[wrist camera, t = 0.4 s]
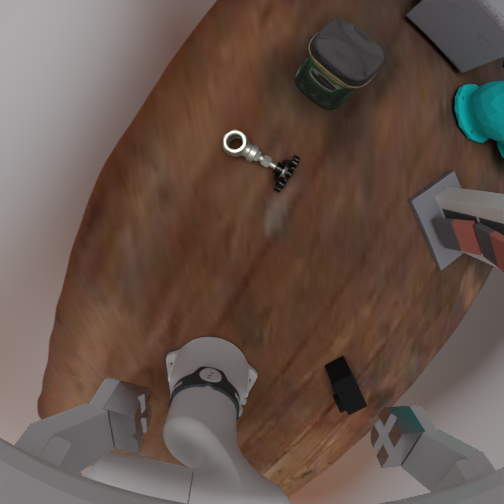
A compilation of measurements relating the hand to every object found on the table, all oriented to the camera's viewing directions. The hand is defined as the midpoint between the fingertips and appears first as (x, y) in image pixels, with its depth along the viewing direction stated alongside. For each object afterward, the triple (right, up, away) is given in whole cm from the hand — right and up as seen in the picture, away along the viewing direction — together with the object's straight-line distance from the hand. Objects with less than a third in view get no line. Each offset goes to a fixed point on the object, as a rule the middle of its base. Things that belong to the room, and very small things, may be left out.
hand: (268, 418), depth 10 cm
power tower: (+38, +12, +45) cm, 60 cm away
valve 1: (0, +21, +43) cm, 48 cm away
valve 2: (+54, +31, +41) cm, 74 cm away
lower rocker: (+35, +9, +42) cm, 55 cm away
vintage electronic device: (+45, +59, +34) cm, 82 cm away
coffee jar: (+12, +35, +39) cm, 54 cm away
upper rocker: (+36, +7, +31) cm, 48 cm away
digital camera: (+18, -21, +53) cm, 60 cm away
